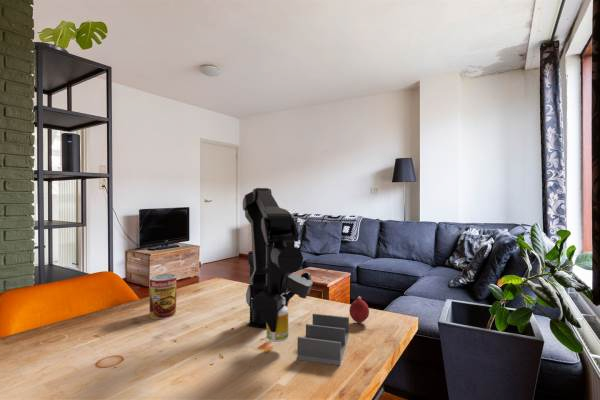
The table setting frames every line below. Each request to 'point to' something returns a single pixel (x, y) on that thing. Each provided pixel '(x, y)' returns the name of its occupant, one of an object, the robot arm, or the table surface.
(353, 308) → the onion
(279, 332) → the supplement bottle
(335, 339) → the rack
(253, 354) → the table surface
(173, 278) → the canned food
